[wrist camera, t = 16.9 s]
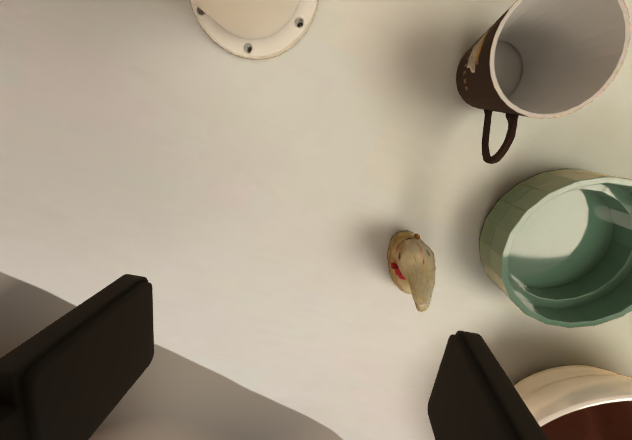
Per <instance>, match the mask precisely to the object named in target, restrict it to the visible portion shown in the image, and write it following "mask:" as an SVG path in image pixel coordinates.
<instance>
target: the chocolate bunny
mask: <svg viewBox="0 0 632 440" xmlns="http://www.w3.org/2000/svg"><path fill="white" fill-rule="evenodd" d="M387 259H388V265H389V271H390V274H391V277H392V279H393V281H394V283H395V284H396V286H397V287H398V288H399V289H400V290H401V291H403V292H405V293H408V294H412V296H413V299H414V301H415V305H416V308H417V309H418V311H420V312H423V311H426V310H427V308H428V307H429V304H430V300H431V297H432V291H433V288H434V284H435V269H436V268H435V258H434V253H433V251H432V250H431V249H430V248H429V247H428V246H427V245H426V244H425V243H423V241H422V240H421V239H420V236H419V235H418V234H414V233H413V232H410V231H402V232H398V233H396V235H395V236H394V237H393V238H392V239H391V243H390V246H389V248H388V252H387Z"/></svg>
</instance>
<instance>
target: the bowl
mask: <svg viewBox="0 0 632 440" xmlns="http://www.w3.org/2000/svg"><path fill="white" fill-rule="evenodd" d="M480 259H481V261H482V264H483V266H484V268H485V271H486V273H487V275H488V276H489V277H490V278H491V279H492V280H493V282H494V283H495V284H496V285H497V286H498V287H499V288H500V289H501V290H502V291H503V292H504V293H505V294H506V295H507V296H508V297H509V298H510V299H511V300H512V301H513V302H514V303H515V304H516V305H517V306H518V307H519V308H520V309H521V310H522V311H523V313H525V314H526V315H528V316H530V317H533V318H535V319H537V320H539V321H541V322H543V323H545V324H549V325H555V326H561V327H567V328H573V327H584V326H595V325H598V324H601V323H604V322H607V321H610V320H613V319H616V318H620V317H621V316H624V315H625V314H627V313H629V312H630V311H632V179H626V178H621V177H616V176H610V175H605V174H599V173H594V172H588V171H581V170H574V169H563V170H556V171H549V172H543V173H541V174H538V175H536V176H534V177H532V178H529V179H527V180H525V181H523V182H520V183H519V184H517V185H516V186H515V187H514V188H513V189H511V190H510V191H509V192H508V193H506V194H505V195H504V196H503V197H501V198H500V199H499V200H498V202H497V203H496V205H495V206H494V208H493V209H492V210H491V212H490V213H489V215H488V216H487V218H486V220H485V223H484V226H483V229H482V232H481V235H480Z"/></svg>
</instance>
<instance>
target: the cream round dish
mask: <svg viewBox="0 0 632 440" xmlns="http://www.w3.org/2000/svg"><path fill="white" fill-rule="evenodd" d="M514 387H515V389H516V390H517V392H518V393H519V395H520V396H521V398H522V399H523V401H524V403H525V404H526V406H527V407H528V409H529V410H530V412H531V413H532V415H533V416H534V418H535V419H536V421H537V422H538V424H539V425H540V427H541V429H542V430H543V432H544V433H545V435H546V436H547V438H548V439H549V440H632V377H628V376H622V375H620V374H617V373H614V372H611V371H608V370H605V369H601V368H597V367H592V366H583V365H569V366H560V367H554V368H550V369H546V370H543V371H540V372H537V373H535V374H533V375H530V376H528V377H527V378H525V379H523V380H521V381H520V382H518V383H517V384H516V385H514Z"/></svg>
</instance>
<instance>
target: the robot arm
mask: <svg viewBox="0 0 632 440" xmlns="http://www.w3.org/2000/svg"><path fill="white" fill-rule="evenodd" d="M318 1H319V0H190V2H191V5H192V8H193V10H194V13H195V15H196V18H197V19H198V21H199V23H200V24H201V26H202V28H203V29H204V30H205V32H206V33H207V34H208V35H209V36H210V37H211V39H212V40H214V41H215V42H216V43H217V44H218V45H220V46H221V47H222V48H224V49H225V50H227V51H229V52H230V53H233V54H235V55H237V56H240V57H243V58H248V59H267V58H271V57H275V56H277V55H279V54H281V53H284V52H286V51H287V50H289V49H290V48H291V47H292V46H294V45H295V44H296V43H297V42H298V41H299V40H300V39H301V38H302V36H303V35H304V34H305V33H306V31H307V29H308V28H309V26H310V24H311V23H312V20H313V18H314V15H315V13H316V10H317V6H318ZM203 11H204V12H205V14H204V15H203ZM299 23H302V24H303V25H302V27H300V28H299V27H298V24H299ZM249 48H252V51H251V52H248V49H249ZM153 355H154V335H153V297H152V285H151V283H149V282H148V280H147V278H145V277H142V276H136V275H130V274H125V275H123V276H122V277H120V278H119V279H117V280H116V281H114V282H113V283H111V284H110V285H108V286H107V287H105V288H104V289H102V290H101V291H100V292H98V293H97V294H95V295H94V296H92V297H91V298H89V299H88V300H86V301H85V302H83V303H82V304H80V305H79V306H77V307H76V308H74V309H73V310H71V311H70V312H68V313H67V314H65V315H64V316H63V317H61V318H60V319H58V320H57V321H55V322H54V323H52V324H51V325H49V326H48V327H46V328H45V329H43V330H42V331H40V332H39V333H38V334H36V335H34V336H33V337H32V338H30V339H28V340H27V341H25V342H24V343H23V344H21V345H20V346H18V347H17V348H15V349H14V350H12V351H11V352H9V353H8V354H6V355H5V356H3V357H2V358H0V440H88V439H89V438H90V437H91V436H92V434H93V433H94V432H95V431H96V429H97V428H98V427H99V426H100V425H101V423H102V422H103V421H104V419H105V418H106V417H107V416H108V415H109V414H110V412H111V411H112V410H113V409H114V407H115V406H116V405H117V404H118V402H119V401H120V400H121V399H122V398H123V396H124V395H125V394H126V393H127V391H128V390H129V389H130V388H131V387H132V385H133V384H134V383H135V381H136V380H137V379H138V378H139V377H140V376H141V374H142V373H143V372H144V370H145V369H146V368H147V367H148V366H149V364H150V363H151V361H152V358H153ZM428 415H429V419H430V423H431V426H432V429H433V433H434V436H435V440H549V439H548V438H547V436H546V435H545V433H544V432H543V430H542V429H541V427H540V425H539V424H538V422H537V421H536V419H535V418H534V416H533V415H532V413H531V412H530V410H529V409H528V407H527V406H526V404H525V403H524V401H523V399H522V398H521V396H520V395H519V393H518V392H517V390H516V389H515V387H514V386H513V384H512V383H511V381H510V380H509V378H508V376H507V375H506V373H505V372H504V370H503V369H502V367H501V366H500V364H499V363H498V361H497V360H496V358H495V357H494V355H493V354H492V352H491V350H490V349H489V347H488V346H487V344H486V343H485V341H484V340H483V338H482V337H481V336H480V335H479V334H476V333H470V332H464V331H457V333H456V334H455V335H453V334H452V335H451V336H450V337H449V339H448V343H447V346H446V349H445V352H444V355H443V358H442V361H441V364H440V368H439V371H438V374H437V377H436V380H435V383H434V386H433V389H432V392H431V396H430V399H429V402H428Z"/></svg>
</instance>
